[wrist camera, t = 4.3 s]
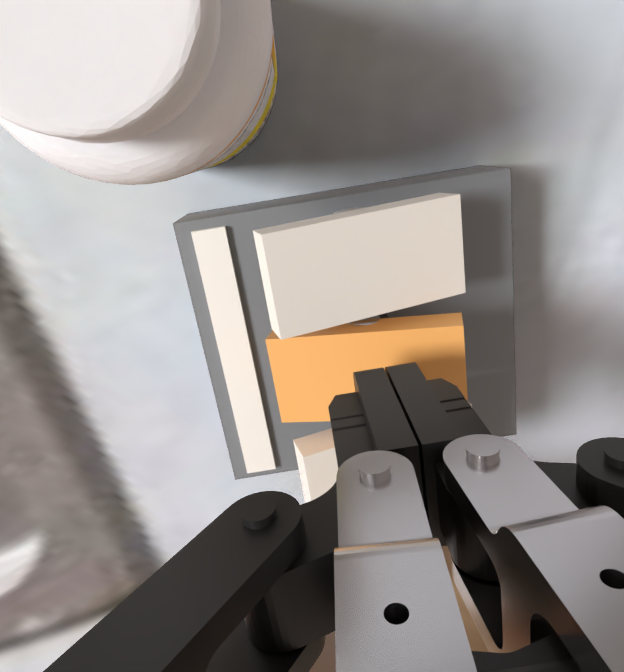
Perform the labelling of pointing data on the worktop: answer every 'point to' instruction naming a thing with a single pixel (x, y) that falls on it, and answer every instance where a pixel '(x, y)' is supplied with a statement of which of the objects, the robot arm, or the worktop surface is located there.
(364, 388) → the robot arm
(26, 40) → the supplement bottle
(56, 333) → the worktop surface
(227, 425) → the board
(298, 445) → the paddle near post
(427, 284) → the paddle near bottle
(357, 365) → the paddle middle
